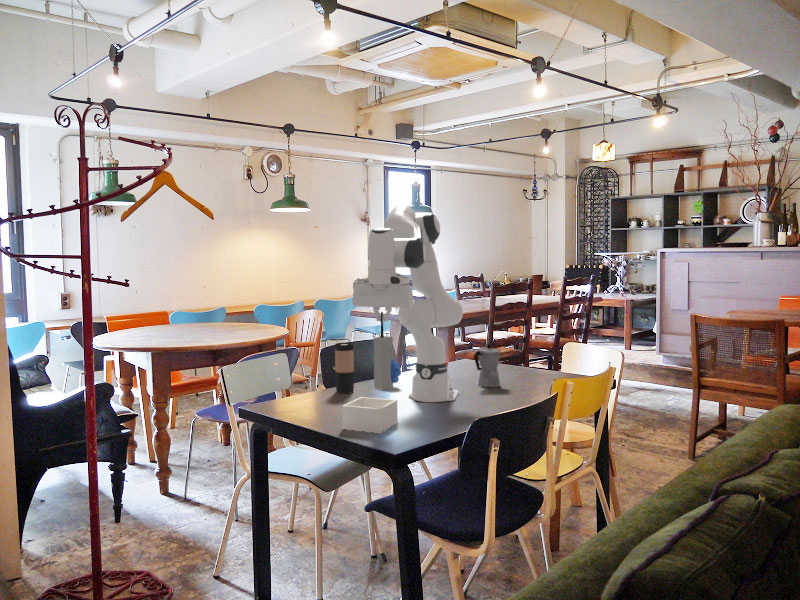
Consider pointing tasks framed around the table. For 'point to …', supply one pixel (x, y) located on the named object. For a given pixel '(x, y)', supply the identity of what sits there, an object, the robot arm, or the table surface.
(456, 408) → the table surface
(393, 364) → the grapes
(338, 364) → the travel mug
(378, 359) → the vintage mobile phone
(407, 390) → the table surface
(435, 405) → the table surface
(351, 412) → the bin
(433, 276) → the robot arm
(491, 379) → the coffeepot
